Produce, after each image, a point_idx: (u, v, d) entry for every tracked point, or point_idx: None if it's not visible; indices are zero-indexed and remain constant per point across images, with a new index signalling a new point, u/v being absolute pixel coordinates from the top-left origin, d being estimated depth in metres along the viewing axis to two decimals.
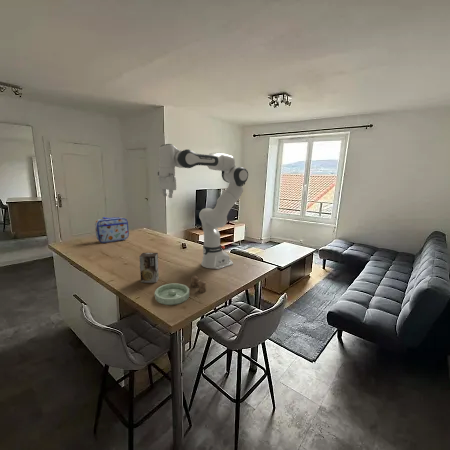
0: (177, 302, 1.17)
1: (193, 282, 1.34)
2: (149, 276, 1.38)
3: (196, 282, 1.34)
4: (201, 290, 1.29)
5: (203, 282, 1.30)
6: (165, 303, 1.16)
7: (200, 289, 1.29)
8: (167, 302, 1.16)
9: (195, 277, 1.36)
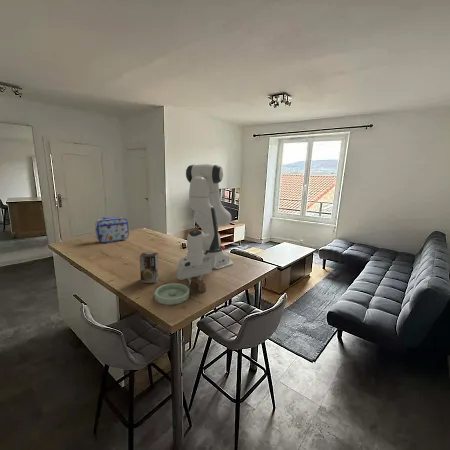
0: (177, 302, 1.17)
1: (193, 282, 1.34)
2: (149, 276, 1.38)
3: (196, 282, 1.34)
4: (201, 290, 1.29)
5: (203, 282, 1.30)
6: (165, 303, 1.16)
7: (200, 289, 1.29)
8: (167, 302, 1.16)
9: (195, 277, 1.36)
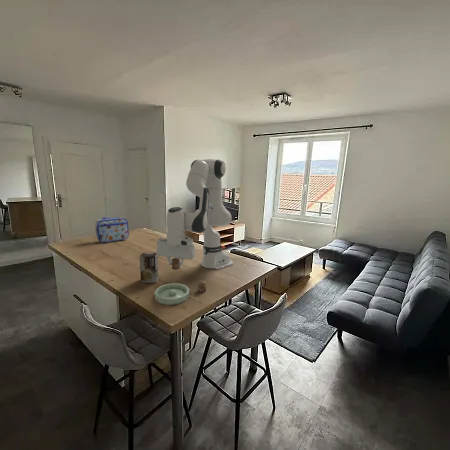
0: (177, 302, 1.17)
1: None
2: (149, 276, 1.38)
3: None
4: (201, 290, 1.29)
5: (203, 282, 1.30)
6: (165, 303, 1.16)
7: (200, 289, 1.29)
8: (167, 302, 1.16)
9: (174, 259, 1.25)
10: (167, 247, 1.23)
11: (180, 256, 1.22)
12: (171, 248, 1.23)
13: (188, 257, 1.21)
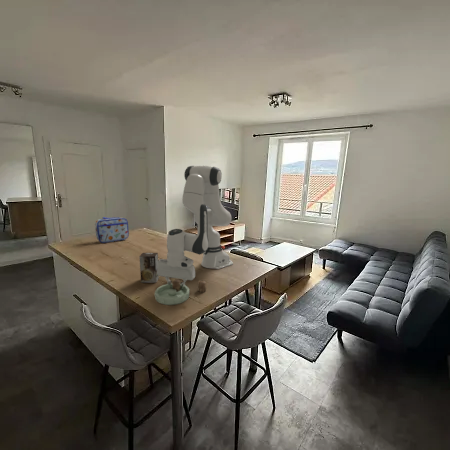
0: (177, 302, 1.17)
1: None
2: (149, 276, 1.38)
3: None
4: (201, 290, 1.29)
5: (203, 282, 1.30)
6: (165, 303, 1.16)
7: (200, 289, 1.29)
8: (167, 302, 1.16)
9: (175, 281, 1.28)
10: (167, 268, 1.25)
11: (180, 277, 1.25)
12: (171, 269, 1.25)
13: (188, 278, 1.24)
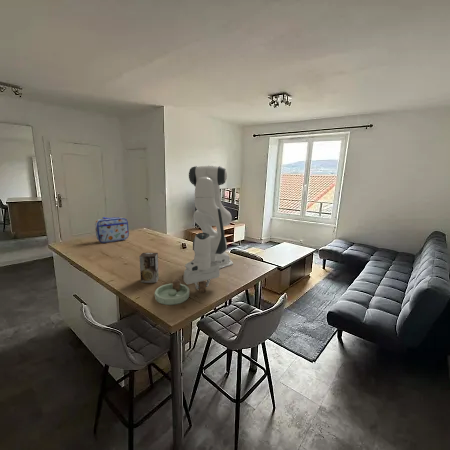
0: (177, 302, 1.17)
1: None
2: (149, 276, 1.38)
3: None
4: (201, 290, 1.29)
5: (203, 282, 1.30)
6: (165, 303, 1.16)
7: (200, 289, 1.29)
8: (167, 302, 1.16)
9: (175, 281, 1.28)
10: None
11: None
12: None
13: None
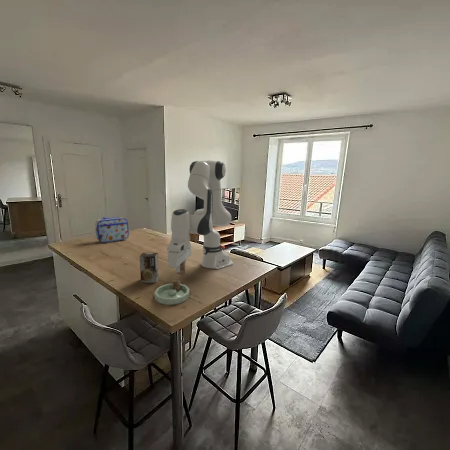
0: (177, 302, 1.17)
1: None
2: (149, 276, 1.38)
3: None
4: (183, 272, 1.19)
5: (182, 263, 1.20)
6: (165, 303, 1.16)
7: (181, 271, 1.19)
8: (167, 302, 1.16)
9: (175, 281, 1.28)
10: None
11: None
12: None
13: None
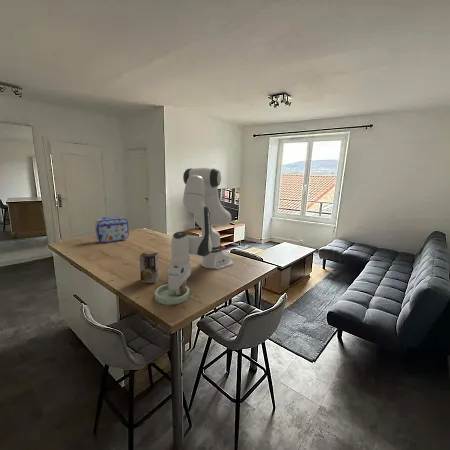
0: (177, 302, 1.17)
1: None
2: (149, 276, 1.38)
3: None
4: (183, 294, 1.22)
5: (182, 286, 1.23)
6: (165, 303, 1.16)
7: (182, 294, 1.21)
8: (167, 302, 1.16)
9: None
10: None
11: None
12: None
13: None
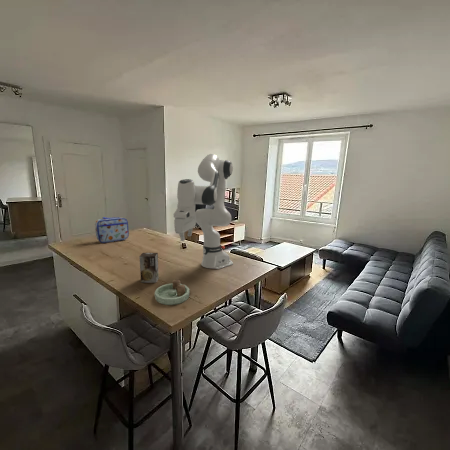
0: (177, 302, 1.17)
1: None
2: (149, 276, 1.38)
3: None
4: (183, 294, 1.22)
5: (182, 286, 1.23)
6: (165, 303, 1.16)
7: (182, 294, 1.21)
8: (167, 302, 1.16)
9: (175, 281, 1.28)
10: None
11: None
12: None
13: None
